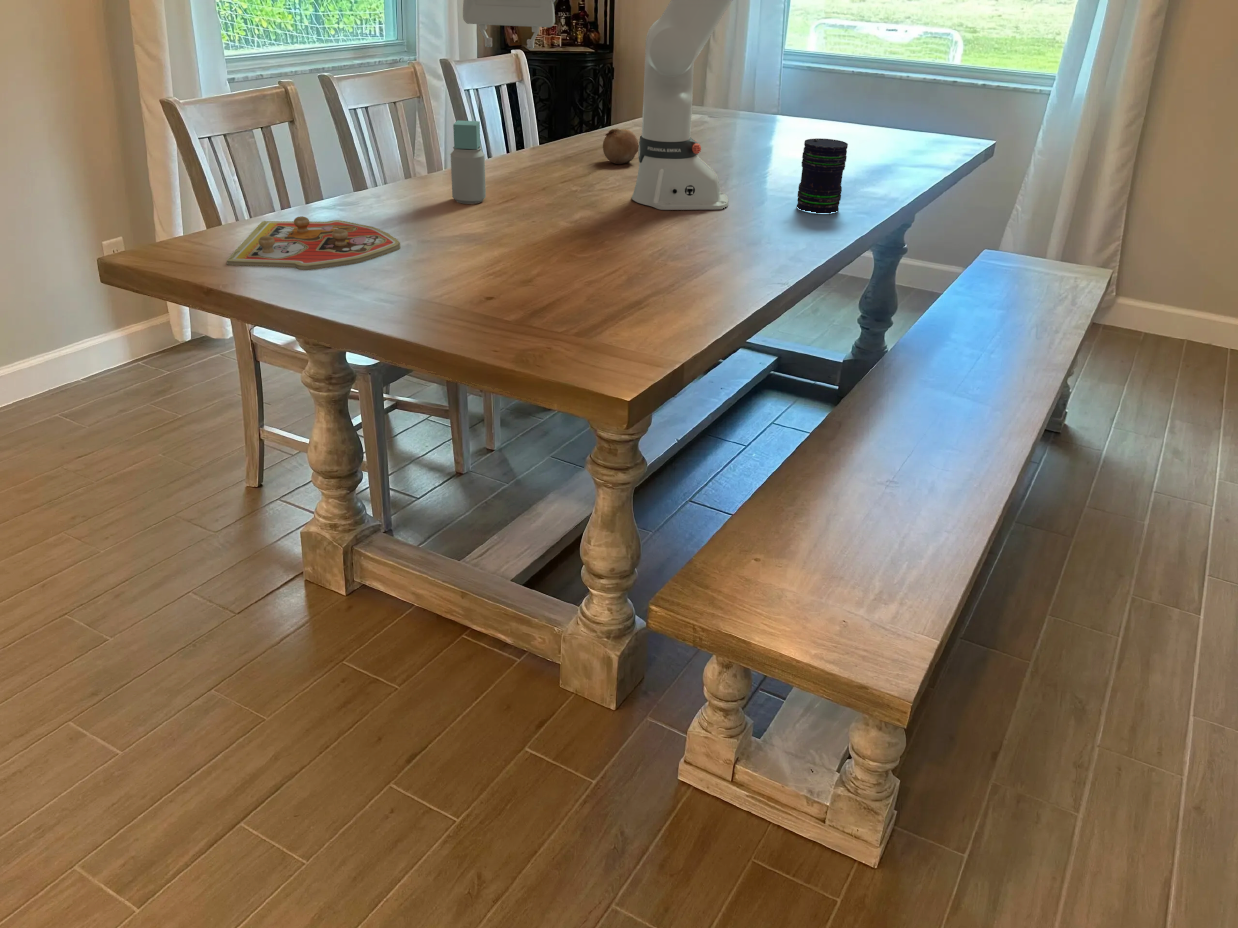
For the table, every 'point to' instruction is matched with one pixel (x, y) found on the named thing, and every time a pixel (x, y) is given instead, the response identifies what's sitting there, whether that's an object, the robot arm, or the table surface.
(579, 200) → the table surface
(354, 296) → the table surface
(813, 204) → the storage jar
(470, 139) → the teal block
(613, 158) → the onion
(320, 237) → the knob puzzle
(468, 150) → the can
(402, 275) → the table surface
